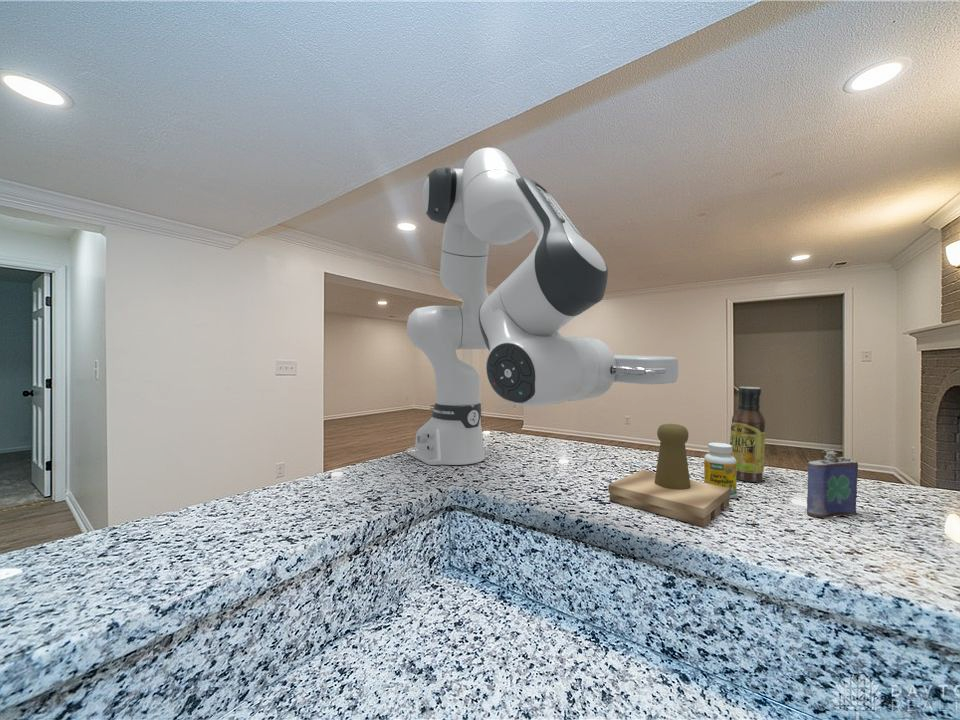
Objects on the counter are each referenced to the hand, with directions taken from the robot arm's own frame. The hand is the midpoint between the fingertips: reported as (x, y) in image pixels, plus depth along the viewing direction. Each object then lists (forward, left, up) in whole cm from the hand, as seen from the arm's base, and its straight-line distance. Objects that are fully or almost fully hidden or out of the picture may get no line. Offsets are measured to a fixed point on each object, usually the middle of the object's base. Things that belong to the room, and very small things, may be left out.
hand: (627, 365), depth 68 cm
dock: (+3, +11, -25) cm, 27 cm away
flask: (+24, +26, -25) cm, 43 cm away
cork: (+3, +13, -22) cm, 26 cm away
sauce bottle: (+9, +38, -25) cm, 46 cm away
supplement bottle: (+8, +23, -25) cm, 35 cm away
